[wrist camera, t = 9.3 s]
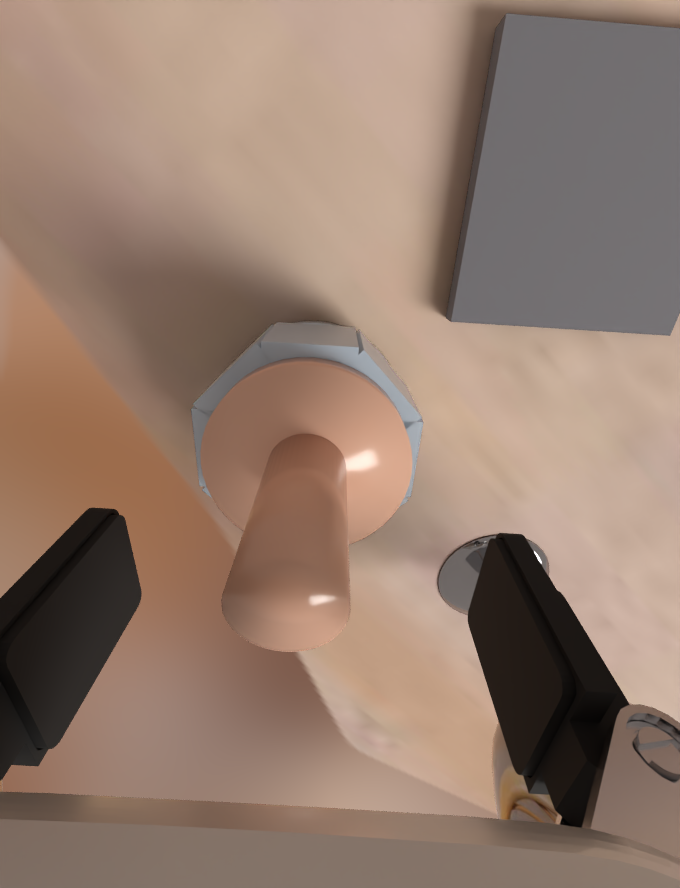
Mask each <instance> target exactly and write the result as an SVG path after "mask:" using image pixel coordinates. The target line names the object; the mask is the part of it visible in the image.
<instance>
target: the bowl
mask: <svg viewBox="0 0 680 888" xmlns="http://www.w3.org/2000/svg"><path fill="white" fill-rule="evenodd" d="M296 357H314V358H322V359H328V360H332V361H336V362H340V363H342V364H345V365H347V366H350V367H352V368H354V369H356V370H358V371H360V372H361V373H363V374H365V375H367V376H368V377H369V378H370V379H372V380H373V381H374V382H376V383H377V384H378V385H379V386H380V387H381V388H382V389H383V390H384V391H385V392H386V393H387V394H388V396H389V397H390V398H391V400H392V401H393V402H394V404H395V406H396V408H397V409H398V411H399V413H400V415H401V418H402V420H403V423H404V426H405V428H406V431H407V434H408V437H409V440H410V445H411V449H412V462H413V464H412V475H411V479H410V483H409V487H408V490H407V492H406V495H405V497H404V499H403V501H402V502H401V504H400V506H401V505H403V504H404V503H406V502H407V501H408V498H407V497H411V492H412V486H413V480H414V474H415V469H416V463H417V457H418V451H419V445H420V439H421V433H422V427H423V421H422V416H421V414H420V412H419V410H418V408H417V406H416V404H415V402H414V400H413V398H412V396H411V394H410V391H409V389H408V387H407V385H406V384H405V383H404V382H403V380H402V379H401V378H400V377H399V376H398V375H397V373H396V372H395V371H394V370H393V369H392V367H391V366H390V364H389V362H388V361H387V360H386V358H385V357H384V356H383V354H382V353H381V352H380V351H379V350H378V349H377V348H376V347H375V346H374V345H373V344H372V343H371V342H370V341H369V340H368V339H367V338H366V337H365V335H364V334H363V333H362V332H361V331H360V329H359V330H358V331H357V332H356V329H355V327H345V326H341V325H337V324H333V323H329V322H322V321H301V322H294V323H282V322H277V323H276V324H275V325H273V324H272V325H271V326H270V327H269V328H268V329H267V330H266V331H265V332H263V333H262V334H261V335H260V336H259V337H258V338H257V339H256V340H255V341H254V342H253V343H252V344H251V345H250V346H249V347H248V348H247V349H246V350H245V351H244V352H243V353H242V354H241V355H240V356H239V357H238V358H237V359H236V360H235V361H234V362H233V363H232V364H231V365H230V366H229V367H228V368H227V369H226V370H225V371H224V372H222V373H221V374H220V376H219V377H218V378H217V379H216V380H215V381H214V382H213V383H212V384H211V385H210V386H209V387H208V388H207V389H206V391H205V392H204V393H203V394H202V395H201V396H200V397H199V398H198V399H197V400H196V401H195V402H194V403H193V405H194V406H193V407H192V408H191V413H192V422H193V431H194V440H195V449H196V458H197V467H198V476H199V485H200V486H204V487H203V489H202V491H204V492H205V493H206V494H207V495H209V496H210V497H211V495H210V493H209V491H208V489H207V486H206V483H205V480H204V478H203V473H202V468H201V456H200V450H201V442H202V437H203V434H204V430H205V427H206V425H207V422H208V420H209V418H210V416H211V414H212V413H213V411H214V410H215V408H216V407H217V405H218V404H219V403H220V401H221V400H222V399H223V397H224V396H225V395H226V394H227V392H228V391H229V390H230V389H231V388H232V387H233V386H234V385H235V384H236V383H237V382H238V381H239V380H241V379H242V378H243V377H244V376H245V375H247V374H249V373H250V372H252V371H254V370H255V369H257V368H259V367H262V366H264V365H266V364H269V363H272V362H275V361H279V360H282V359H289V358H296ZM211 498H212V497H211ZM400 506H399V507H400Z"/></svg>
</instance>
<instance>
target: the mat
mask: <svg viewBox="0 0 680 888" xmlns="http://www.w3.org/2000/svg"><path fill="white" fill-rule="evenodd" d="M679 313H680V28H671V27H660V26H648V25H636V24H625V23H613V22H601V21H590V20H578V19H566V18H555V17H543V16H531V15H520V14H508V13H506V15H505V16H504V17H503V19H502V20H501V22H500V23H499V24H498V26H497V27H496V31H495V36H494V42H493V48H492V54H491V60H490V65H489V71H488V77H487V83H486V88H485V94H484V100H483V106H482V112H481V117H480V123H479V129H478V135H477V140H476V146H475V152H474V158H473V164H472V169H471V175H470V181H469V187H468V192H467V198H466V204H465V210H464V216H463V221H462V227H461V233H460V239H459V244H458V250H457V256H456V262H455V268H454V273H453V279H452V285H451V291H450V296H449V302H448V308H447V314H446V319H448V320H449V321H451V322H465V323H480V324H496V325H512V326H527V327H543V328H559V329H574V330H590V331H605V332H621V333H637V334H652V335H668V336H670V335H671V332H672V330H673V327H674V325H675V323H676V320H677V318H678V316H679Z"/></svg>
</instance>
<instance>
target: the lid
mask: <svg viewBox="0 0 680 888" xmlns="http://www.w3.org/2000/svg"><path fill="white" fill-rule="evenodd" d="M200 456H201V468H202V473H203V478H204V480H205V483H206V486H207V489H208V491H209V493H210V495H211V497H212V499H213V500H214V502H215V503H216V505H217V506H218V508H219V509H220V510H221V511H222V512H223V513H224V515H225V516H226V517H227V518H228V519H229V520H230V521H231V522H233V523H234V524H235V525H236V526H237V527H239V528H240V529H241V530H243V531H244V532H243V535H242V538H241V541H240V544H239V547H238V550H237V553H236V556H235V559H234V562H233V565H232V568H231V571H230V574H229V577H228V580H227V583H226V586H225V589H224V591H223V595H222V600H221V601H222V611H223V614H224V617H225V619H226V621H227V623H228V624H229V625H230V627H231V628H232V629H233V630H234V631H235V632H236V633H237V634H238V635H240V636H241V637H242V638H244V639H245V640H247V641H248V642H250V643H253V644H255V645H257V646H260V647H263V648H266V649H270V650H276V651H285V652H291V651H292V652H295V651H304V650H309V649H313V648H316V647H319V646H321V645H324V644H326V643H327V642H329V641H331V640H332V639H334V638H335V637H336V636H337V635H338V634H340V632H341V631H342V630H343V629H344V627H345V626H346V624H347V622H348V619H349V616H350V578H349V545H350V544H353V543H355V542H357V541H359V540H361V539H364V538H365V537H367V536H369V535H370V534H372V533H374V532H375V531H376V530H377V529H379V528H380V527H381V526H383V525H384V524H385V523H386V522H387V521H388V520H389V519H390V518H391V517H392V515H393V514H394V513H395V512H396V510H397V509H398V508H399V506H400V504H401V502H402V501H403V499H404V497H405V495H406V492H407V490H408V487H409V483H410V479H411V475H412V464H413V462H412V449H411V445H410V440H409V437H408V434H407V431H406V428H405V426H404V423H403V420H402V418H401V415H400V413H399V411H398V409H397V408H396V406H395V404H394V402H393V401H392V400H391V398H390V397H389V396H388V394H387V393H386V392H385V391H384V390H383V389H382V388H381V387H380V386H379V385H378V384H377V383H376V382H374V381H373V380H372V379H370V378H369V377H368V376H367V375H365V374H363V373H361V372H360V371H358V370H356V369H354V368H352V367H350V366H347V365H345V364H342V363H340V362H336V361H332V360H328V359H322V358H314V357H296V358H289V359H282V360H279V361H275V362H272V363H269V364H266V365H264V366H262V367H259V368H257V369H255V370H254V371H252V372H250V373H249V374H247V375H245V376H244V377H243V378H242V379H241V380H239V381H238V382H237V383H236V384H235V385H234V386H233V387H232V388H231V389H230V390H229V391H228V392H227V394H226V395H225V396H224V397H223V399H222V400H221V401H220V403H219V404H218V405H217V407H216V408H215V410H214V411H213V413H212V414H211V416H210V418H209V420H208V422H207V425H206V427H205V430H204V434H203V437H202V442H201V450H200Z"/></svg>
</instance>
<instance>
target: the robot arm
mask: <svg viewBox="0 0 680 888" xmlns="http://www.w3.org/2000/svg"><path fill="white" fill-rule="evenodd" d="M140 600H141V587H140V583H139V579H138V574H137V570H136V565H135V561H134V557H133V552H132V548H131V543H130V539H129V534H128V530H127V526H126V521H125V518H124V517H123V516H121V515H119V513H118V511H117V510H115V509H105V508H104V509H103V508H89V509H88V510H87V511H85V512H84V513H83V514H82V516H80V517H79V518H78V520H77V521H76V522H75V523H74V524H73V525H72V526H71V527H70V528H69V529H68V530H67V531H66V532H65V533H64V534H63V535H62V536H61V537H60V538H59V539H58V540H57V541H56V542H55V543H54V544H53V545H52V546H51V547H50V548H49V549H48V550H47V551H46V552H45V553H44V554H43V555H42V556H41V557H40V558H39V559H38V560H37V561H36V563H34V564H33V565H32V566H31V568H30V569H29V570H28V571H27V572H26V573H25V574H24V575H23V576H22V577H21V578H20V579H19V580H18V581H17V582H16V583H15V584H14V585H13V586H12V587H11V588H10V589H9V590H8V591H7V592H6V593H5V594H4V595H3V596H2V597H1V598H0V888H680V723H679V722H677V721H676V720H675V719H673V718H672V717H670V716H669V715H667V714H665V713H663V712H661V711H659V710H657V709H655V708H652V707H648V706H644V705H641V704H638V705H630V704H629V703H628V701H627V699H626V698H625V696H624V694H623V693H622V691H621V689H620V688H619V686H618V684H617V683H616V681H615V680H614V678H613V676H612V675H611V673H610V671H609V670H608V668H607V666H606V665H605V663H604V661H603V660H602V658H601V657H600V655H599V653H598V652H597V650H596V648H595V647H594V645H593V643H592V642H591V640H590V638H589V637H588V635H587V633H586V632H585V630H584V629H583V627H582V625H581V624H580V622H579V620H578V619H577V617H576V615H575V614H574V612H573V610H572V609H571V607H570V605H569V604H568V602H567V601H566V599H565V597H564V596H563V595H562V594H561V593H560V592H559V591H557V590H556V588H555V586H554V585H553V583H552V581H551V580H550V578H549V576H548V575H547V573H546V571H545V570H544V568H543V566H542V565H541V563H540V561H539V560H538V558H537V556H536V555H535V553H534V551H533V550H532V548H531V546H530V544H529V543H528V541H527V539H526V538H525V537H524V536H523V535H521V534H508V533H499V534H498V535H497V536H496V538H491V539H490V540H489V542H488V546H487V549H486V552H485V556H484V559H483V563H482V566H481V569H480V573H479V576H478V580H477V583H476V586H475V590H474V593H473V597H472V600H471V603H470V607H469V610H468V624H469V628H470V631H471V634H472V637H473V640H474V644H475V647H476V650H477V653H478V656H479V660H480V663H481V666H482V669H483V672H484V676H485V679H486V682H487V685H488V688H489V692H490V695H491V698H492V701H493V704H494V708H495V711H496V714H497V717H498V720H499V724H500V727H501V730H502V733H503V736H504V740H505V743H506V746H507V749H508V752H509V756H510V759H511V762H512V765H513V768H514V770H515V772H516V773H517V774H518V775H523V777H524V780H525V783H526V786H527V789H528V793H529V794H545V795H550V798H551V801H552V804H553V806H554V809H555V811H556V812H557V813H558V815H557V819H556V822H555V824H551V823H541V822H529V821H517V820H505V819H492V818H480V817H467V816H453V815H435V814H420V813H403V812H387V811H370V810H354V809H338V808H319V807H301V806H284V805H266V804H248V803H230V802H211V801H192V800H174V799H153V798H134V797H113V796H93V795H73V794H53V793H22V792H3V789H2V779H3V777H4V776H5V774H6V773H7V771H8V769H9V768H10V766H11V765H25V766H39V764H40V762H41V761H42V759H43V757H44V756H45V754H46V752H47V751H48V749H52V748H54V747H55V746H56V745H57V744H58V743H59V742H60V740H61V738H62V737H63V735H64V733H65V731H66V730H67V728H68V727H69V725H70V723H71V721H72V720H73V718H74V716H75V714H76V713H77V711H78V709H79V708H80V706H81V704H82V702H83V701H84V699H85V697H86V695H87V694H88V692H89V690H90V689H91V687H92V685H93V683H94V682H95V680H96V678H97V676H98V675H99V673H100V671H101V669H102V668H103V666H104V664H105V663H106V661H107V659H108V657H109V656H110V654H111V652H112V650H113V649H114V647H115V645H116V643H117V642H118V640H119V639H120V637H121V635H122V633H123V631H124V630H125V628H126V626H127V625H128V623H129V621H130V620H131V618H132V616H133V614H134V612H135V611H136V609H137V607H138V605H139V603H140Z"/></svg>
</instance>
